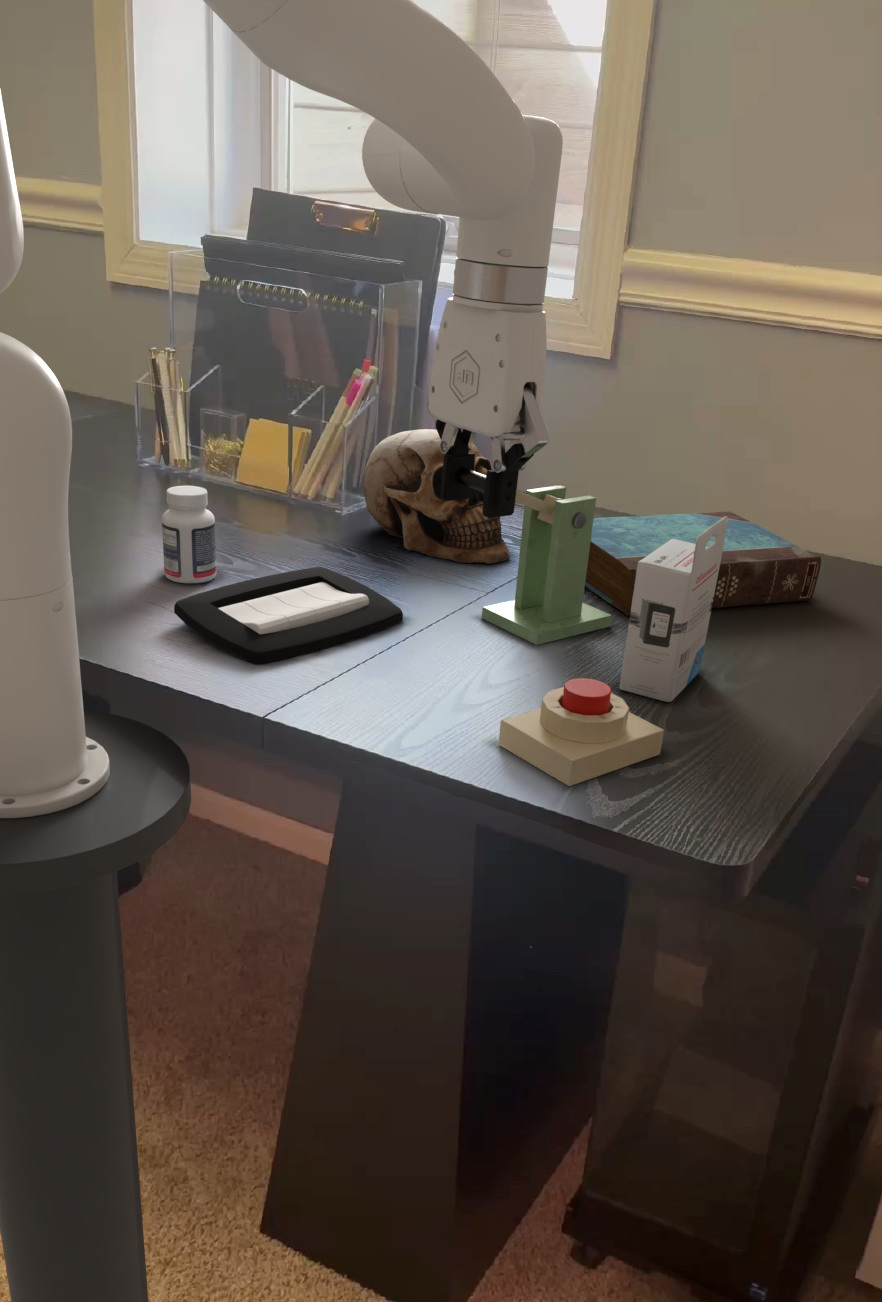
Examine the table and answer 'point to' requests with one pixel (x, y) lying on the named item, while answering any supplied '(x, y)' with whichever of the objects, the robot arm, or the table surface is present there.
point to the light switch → (287, 614)
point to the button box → (579, 739)
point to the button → (586, 696)
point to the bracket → (552, 574)
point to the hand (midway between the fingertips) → (476, 505)
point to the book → (749, 556)
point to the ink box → (671, 615)
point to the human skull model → (429, 501)
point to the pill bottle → (188, 536)
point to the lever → (545, 507)
